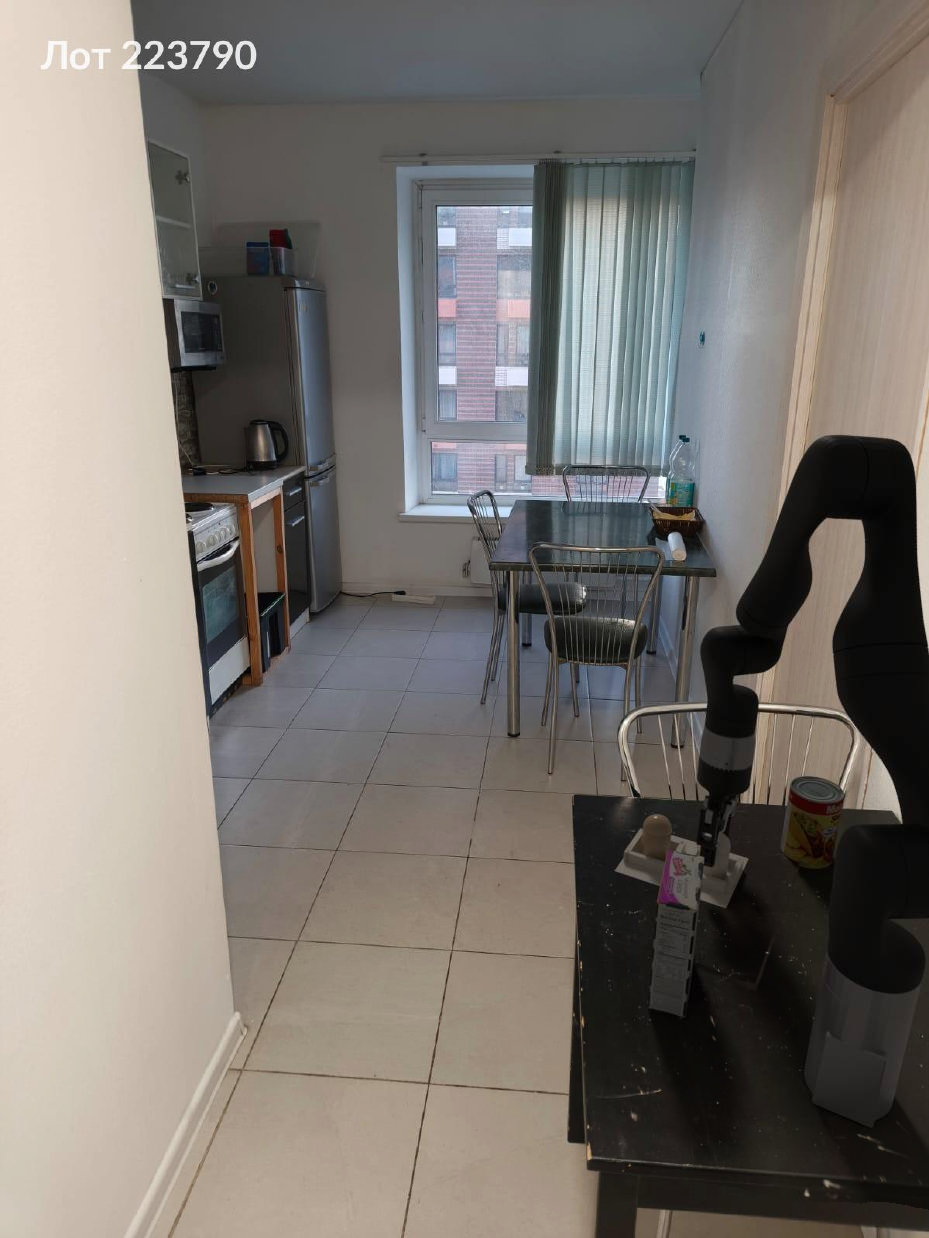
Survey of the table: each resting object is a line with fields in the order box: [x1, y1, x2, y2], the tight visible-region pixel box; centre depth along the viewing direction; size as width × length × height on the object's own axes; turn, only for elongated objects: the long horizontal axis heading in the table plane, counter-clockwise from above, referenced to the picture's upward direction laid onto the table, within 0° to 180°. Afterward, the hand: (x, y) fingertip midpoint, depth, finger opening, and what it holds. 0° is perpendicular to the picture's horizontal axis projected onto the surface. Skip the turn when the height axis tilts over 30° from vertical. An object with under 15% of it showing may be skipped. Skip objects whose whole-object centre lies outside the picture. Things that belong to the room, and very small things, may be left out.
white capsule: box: [699, 832, 731, 880], centre depth 131 cm, size 4×4×7 cm
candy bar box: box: [647, 850, 704, 1019], centre depth 108 cm, size 11×5×16 cm, turn 161°
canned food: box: [780, 775, 845, 870], centre depth 136 cm, size 8×8×12 cm
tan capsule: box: [641, 813, 673, 862], centre depth 135 cm, size 4×4×7 cm
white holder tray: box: [614, 827, 749, 909], centre depth 134 cm, size 14×17×2 cm
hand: (714, 850), depth 130 cm, fingers open, 8 cm apart
